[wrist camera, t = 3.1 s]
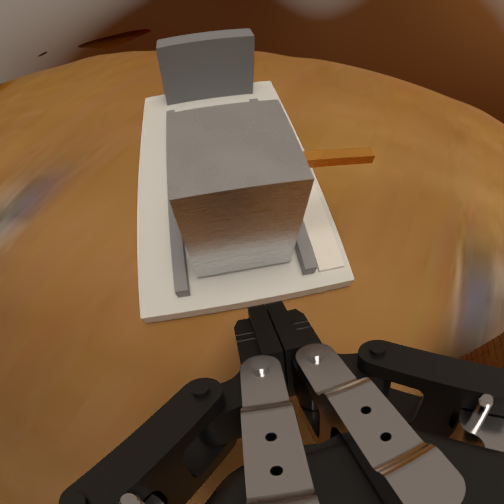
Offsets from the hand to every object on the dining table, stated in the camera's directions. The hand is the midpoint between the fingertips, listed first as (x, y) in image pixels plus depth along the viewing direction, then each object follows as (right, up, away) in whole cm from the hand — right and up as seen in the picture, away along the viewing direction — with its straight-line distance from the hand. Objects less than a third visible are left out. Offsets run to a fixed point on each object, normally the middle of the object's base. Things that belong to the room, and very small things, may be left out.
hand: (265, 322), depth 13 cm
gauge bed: (-3, +10, +12) cm, 16 cm away
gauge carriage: (0, +7, +9) cm, 11 cm away
